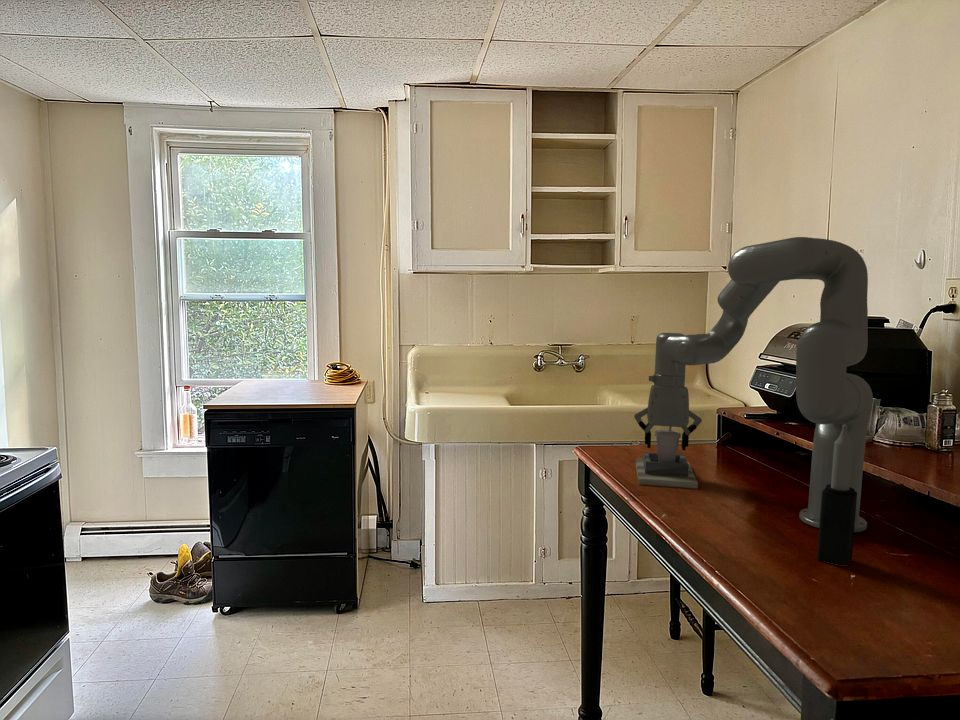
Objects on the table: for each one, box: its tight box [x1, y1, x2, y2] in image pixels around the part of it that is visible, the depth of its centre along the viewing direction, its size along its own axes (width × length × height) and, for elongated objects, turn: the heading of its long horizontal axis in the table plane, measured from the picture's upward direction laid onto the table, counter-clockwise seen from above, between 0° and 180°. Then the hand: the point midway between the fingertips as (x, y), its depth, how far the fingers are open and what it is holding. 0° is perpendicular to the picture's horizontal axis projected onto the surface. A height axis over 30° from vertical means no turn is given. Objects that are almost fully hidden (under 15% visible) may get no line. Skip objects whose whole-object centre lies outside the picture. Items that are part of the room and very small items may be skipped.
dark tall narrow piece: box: [816, 425, 857, 566], centre depth 121 cm, size 5×5×25 cm
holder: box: [635, 451, 699, 490], centre depth 174 cm, size 20×14×4 cm
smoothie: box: [654, 426, 682, 463], centre depth 174 cm, size 6×6×14 cm
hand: (666, 447), depth 174 cm, fingers open, 8 cm apart
